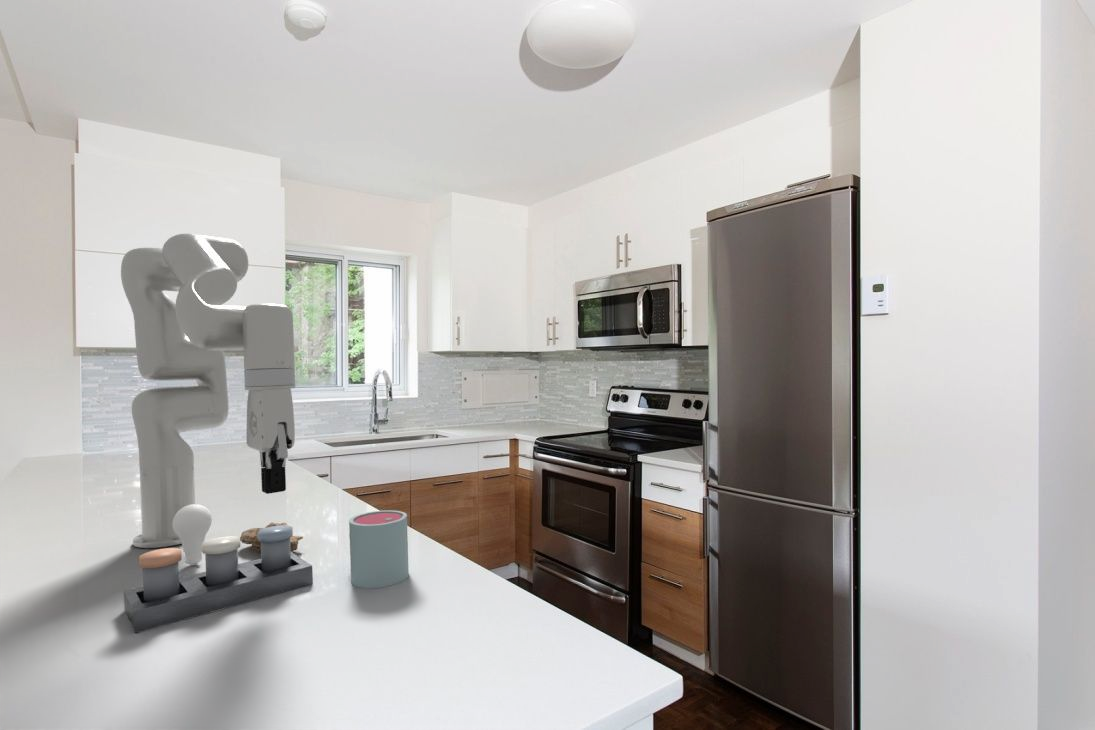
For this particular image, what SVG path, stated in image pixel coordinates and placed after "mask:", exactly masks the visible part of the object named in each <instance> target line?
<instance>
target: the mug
mask: <svg viewBox="0 0 1095 730" xmlns="http://www.w3.org/2000/svg"><path fill="white" fill-rule="evenodd" d="M348 524H349V525H348V526H349V528H348V529H349V531H348V532H349V535H348V536H349V552H350V555H349V558H350V561H349V562H350V582H351V584H352V586H355V587H357V588H362V589H378V588H384V587H390V586H393V585H397V584H399V583H401V582H403V581H406V579H407V578H408V577H409V546H408V545H409V544H408V543H409V541H408V540H409V539H408V538H409V537H408V514H407V513H406V512H405V511H400V510H394V509H393V510H392V509H391V510H388V509H387V510H385V509H384V510H375V511H368V512H364V513H360V514H357V515H354V516H352V517H350V518H349V521H348Z"/></svg>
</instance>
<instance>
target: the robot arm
mask: <svg viewBox="0 0 1095 730" xmlns="http://www.w3.org/2000/svg"><path fill="white" fill-rule="evenodd" d="M120 264H121V266H120V277H121V284H122V288H123V290H124V293H125V296H126V299H127V301H128V305H129V306H130V309H131V311H132V315H133V321H134V322H133V323H134V324H133V325H134V338H135V352H136V360H137V367H138V368H137V369H138V371H139V374H140V375H141V376H142V378H144V380H145V379H146V380H148V381H153V382H155V381H156V382H170V381H171V382H172V381H173V382H174V381H193V380H194V381H195V382H196V383H197V385H190V386H189V385H188V386H167V387H155V388H150V389H146V390H144V391H141V392H140V393H138V394H137V395H136V396H135V397H134V398H133V400H132V403H131V415H132V420H133V424H134V428H135V429H134V430H135V432H136V439H137V445H138V447H137V449H138V461H139V462H138V463H139V464H138V465H139V481H140V482H139V483H140V484H139V486H140V511H141V514H140V515H141V533H139V534H137V535H136V536H135V537H133V539H132V545H133V546H134V547H136V548H141V549H142V548H143V549H155V548H156V549H158V548H159V549H160V548H168V547H172V546H178V545H182V542H181V540H180V538H179V537H178V536H177V534H176V533H175V531H174V529H173V526H172V523H173V519H174V516H175V515H176V513H177V512H178V511H179V510H180V509H181V508H183V507H185V506H188V505H191V504H196V488H195V487H196V486H195V485H196V484H195V483H196V481H195V460H194V459H195V458H194V452H193V449H192V447H191V446H190V444H189V443H188V442H187V441H185V439H184V438H183V437H182V436H181V435H180V434H181V433H186V432H192V431H193V432H194V431H202V430H209V429H215V428H219V427H221V426H223V425H224V423H226V421H227V419H228V415H229V396H228V394H229V393H228V382H227V381H228V379H227V366H226V365H227V364H226V359H225V358H226V357H225V353H224V351H242V352H243V368H244V369H243V370H244V374H243V375H244V376H243V378H244V390H245V391H248V392H247V393H248V394H247V401H246V402H247V403H246V445H247V446H248V447H249V448H250V449H253V450H255V451H258V452H259V457H260V458H259V459H260V467H261V468H260V476H261V479H260V480H261V492H263V493H265V494H266V495H269V494H275V493H281V492H285V491H286V489H287V481H286V478H287V477H286V476H287V475H286V465H287V464H286V460H287V458H288V456H289V453H288V450H290V449H292V448H293V447H294V445H295V438H296V433H295V430H296V429H295V428H296V427H295V414H294V404H293V396H292V395H293V394H292V389H296V370H295V369H296V367H295V365H296V364H295V363H296V361H295V339H294V338H295V337H294V335H295V333H294V314H293V310H292V309H291V307H289V306H287V305H284V304H277V303H255V304H250V305H247V306H244V305H243V306H242V305H227V304H225V303H227V302H228V301H229V300H231V298H232V297H233V296H234V295H235V293H236V292H237V288H238V283H239V282H240V281H242V280H243V278H244V277H245V276H246V275H247V272H248V270H249V269H248V268H249V257H248V254H247V251H246V249H245V248H244V246H242V244H241V243H239V242H237V241H236V240H234V239H230V238H226V237H225V238H224V237H217V236H212V235H204V234H196V233H179V234H175V235H173V236H171V237H169V238H168V239H167V240H166V241H165V242H164V244H163V245H162V248H161V247H138V248H134V249H131V250H129V251H127V252H126V253H125V254H124V256H123V258H122V260H121V263H120ZM165 291H166V292H178V293H177V295H176V299H175V301H173V300H172V298H170V296H168V294H166V293H165Z"/></svg>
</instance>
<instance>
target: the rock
mask: <svg viewBox="0 0 1095 730" xmlns="http://www.w3.org/2000/svg"><path fill="white" fill-rule="evenodd" d="M281 525H286V526H288V524H287V522H283V523H279V522H270V523H269V524H268V525H266V526H265V527H264V528H267V527H272V526H281ZM264 528H263V527H253V528H249V529H245V530H244V531H242V532H241V535H240V536H239V537H240V543H241V544H245V545H251V547H252V549H253V550H256V551H259V552H260V553H261V542H260V541H258V531H259V530H261V529H264ZM302 539H304V536H301V535H293V536H292V537H290V548H291V552H292V553H294V552H295V551H297V550H298V545H299V541H300V540H302Z"/></svg>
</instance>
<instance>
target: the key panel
mask: <svg viewBox="0 0 1095 730" xmlns="http://www.w3.org/2000/svg"><path fill="white" fill-rule="evenodd" d="M313 572H314V571H313V565H312V564H311V563H309V562H308V561H306V560H305V559H303V558H301V557H300V556H298V555H297V554H296V553H294V552H293V553H292V552H291V566H290V567H287V568H283V569H279V570H275V571H271V572H263V571H262V564H261V558H258V559H254V560H250V561H245V562H240V563H238V576H239V578H238V580H235V581H231V582H227V583H223V584H219V585H215V586H208V585H207V584H206V571H202V572H199V573H194V574H190V575H185V576H182V577H181V576H179V587H180V593H179V594H178V595H175V596H171V597H167V598H163V599H159V600H155V601H151V602H146V601H144V590H143V586H138V587H134V588H129V589H125V590H123V604H124V607H123V608H124V610H123V611H124V613H125V614H126V617H127V619H128V621H129V623H130V625H131V628H132V630H133V632H134V634H137V633H141V632H144V631H147V630H151V629H156V628H158V627H162V626H166V625H169V624H172V623H176V622H180V621H184V620H188V619H192V618H194V617H198V616H202V615H205V614H208V613H214V612H216V611H220V610H224V609H227V608H230V607H234V606H238V605H241V604H245V603H249V602H253V601H256V600H260V599H263V598H266V597H267V598H268V597H270V596H275V595H278V594H282V593H284V592H285V593H286V592H289V591H293V590H297V589H299V588H300V589H301V588H303V587H307V586H310V585H313V584H314V580H313V579H314V578H313V577H314V576H313V575H314V574H313Z"/></svg>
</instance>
